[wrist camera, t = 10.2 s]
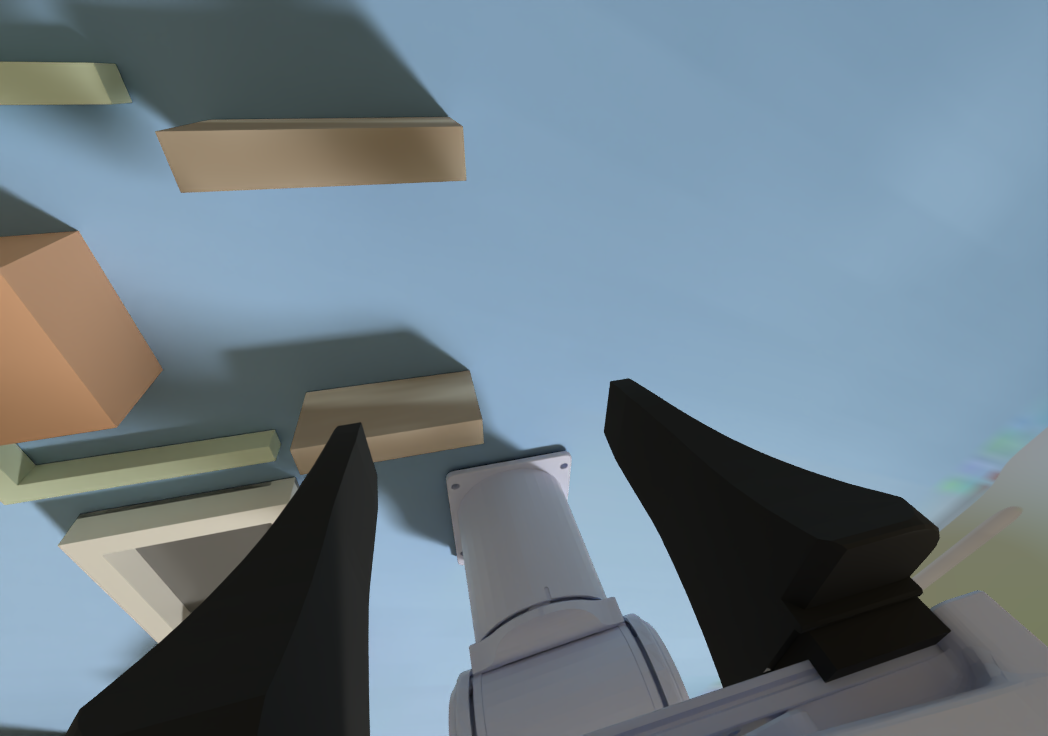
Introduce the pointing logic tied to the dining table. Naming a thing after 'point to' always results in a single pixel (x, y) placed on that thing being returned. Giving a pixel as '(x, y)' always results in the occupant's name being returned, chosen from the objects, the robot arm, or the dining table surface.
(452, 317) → the dining table surface
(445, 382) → the channel walls
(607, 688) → the robot arm
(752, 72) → the dining table surface
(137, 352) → the terracotta block
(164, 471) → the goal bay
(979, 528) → the dining table surface
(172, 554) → the trap basin
